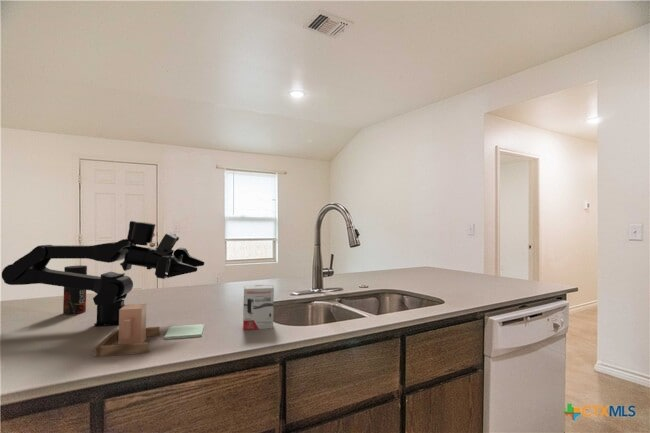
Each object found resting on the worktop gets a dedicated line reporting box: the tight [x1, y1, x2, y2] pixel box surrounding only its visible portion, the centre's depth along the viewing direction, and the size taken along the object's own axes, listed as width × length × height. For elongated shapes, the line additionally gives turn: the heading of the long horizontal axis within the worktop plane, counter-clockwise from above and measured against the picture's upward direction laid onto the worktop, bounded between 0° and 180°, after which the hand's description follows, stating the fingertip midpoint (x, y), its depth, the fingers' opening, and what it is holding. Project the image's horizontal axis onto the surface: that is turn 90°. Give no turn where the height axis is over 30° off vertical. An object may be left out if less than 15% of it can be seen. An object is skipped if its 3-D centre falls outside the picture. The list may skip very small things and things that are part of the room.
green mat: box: [163, 323, 205, 340], centre depth 91 cm, size 9×9×1 cm
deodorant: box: [62, 265, 88, 316], centre depth 109 cm, size 6×6×15 cm
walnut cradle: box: [94, 326, 160, 358], centre depth 81 cm, size 10×13×2 cm
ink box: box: [242, 283, 275, 331], centre depth 96 cm, size 8×5×12 cm, turn 103°
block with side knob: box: [117, 303, 147, 345], centre depth 81 cm, size 8×5×9 cm, turn 16°
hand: (200, 266), depth 103 cm, fingers open, 9 cm apart
